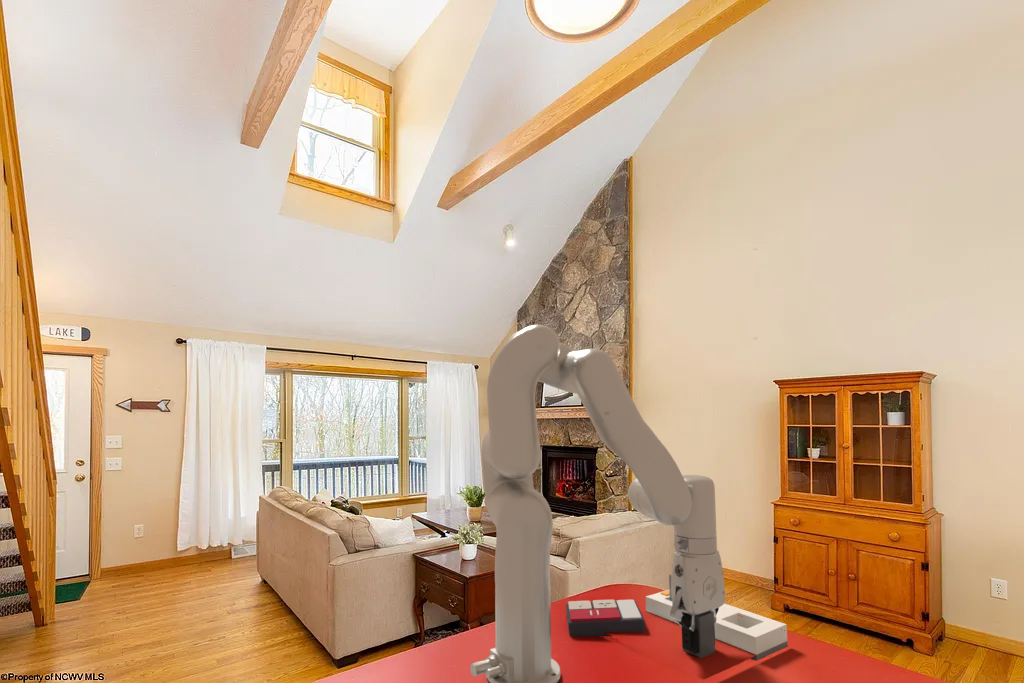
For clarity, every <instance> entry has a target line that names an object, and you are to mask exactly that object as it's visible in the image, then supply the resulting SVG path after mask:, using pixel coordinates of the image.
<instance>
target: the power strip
mask: <svg viewBox="0 0 1024 683" xmlns="http://www.w3.org/2000/svg"><path fill="white" fill-rule="evenodd" d="M672 605H673V604H672V601H670V592H669V589H666V590H662V591H660V592H657V593H653V594H649V595H646V596H645V611H646V612H648V613H650V614H652V615H655V616H658V617H660V618H663V619H664V620H667V621H670V622H673V623H675V624H676V625H679V622H678V621H677V620H676V619H674V618H673V617H671V616H670V611H671V608H672ZM738 615H740V616H738ZM741 616H743V617H741ZM716 618H717V620H716V623H714V624H715V640H718V641H720V642H723V643H724V644H728V645H730V646H733V647H736V648H738V649H741V650H743V651H745V652H747V653H751V654H752V655H754V656H751V657H750V659H752V660H754V661H759V660H761V659H764V658H766V657H768V656H770V655H773V654H774V653H776V652H779V651H780V650H783V649H785V648H788V626H787V625H788V624H786V623H784V622H781V621H778V620H776V619H775V620H774V619H771V618H769V617H765V616H763V615H760V614H757V613H754V612H751V611H747V610H745V609H743V608H739V607H736V606H733V605H730V604H727V603H724V604H723V605H722V606H721V607H719V610H718V612H717V614H716ZM781 629H782V630H781ZM784 630H785V631H784Z"/></svg>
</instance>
